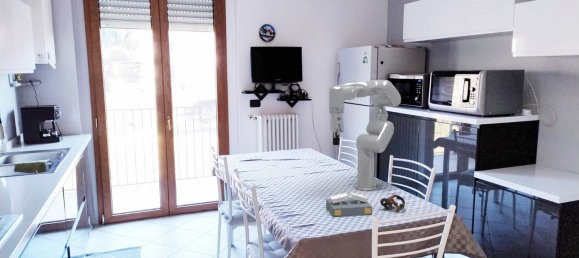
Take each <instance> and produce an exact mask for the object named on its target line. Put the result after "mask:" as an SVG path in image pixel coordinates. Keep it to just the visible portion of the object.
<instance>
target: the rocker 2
mask: <svg viewBox="0 0 579 258" xmlns="http://www.w3.org/2000/svg"><path fill="white" fill-rule="evenodd" d="M348 197H349V198H351V199H355V200H359V201H363V202H366V203H367V202H368V198H367V197H366V195H363V194H359V193H355V192H352V191H350V192H349V193H348Z"/></svg>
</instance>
